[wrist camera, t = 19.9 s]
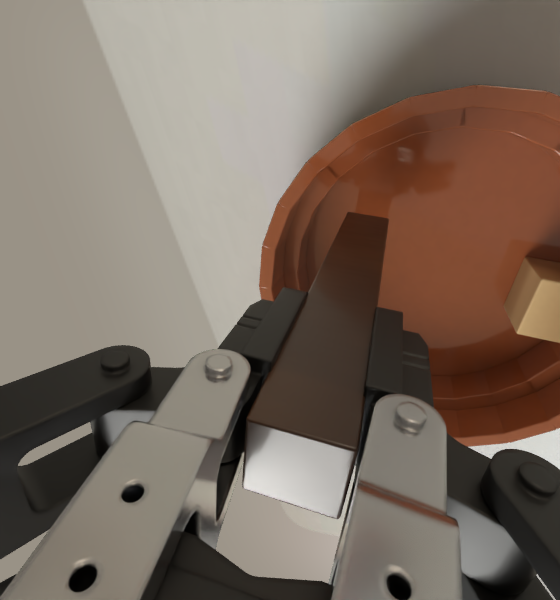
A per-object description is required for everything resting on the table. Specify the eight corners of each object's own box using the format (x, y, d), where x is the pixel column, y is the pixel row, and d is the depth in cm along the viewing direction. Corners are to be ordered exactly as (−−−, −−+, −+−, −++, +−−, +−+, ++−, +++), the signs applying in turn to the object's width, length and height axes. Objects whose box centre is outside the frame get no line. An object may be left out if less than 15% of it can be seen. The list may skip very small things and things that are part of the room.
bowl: (274, 352, 28) (251, 397, 24) (303, 74, 20) (274, 66, 15) (538, 417, 24) (566, 485, 20) (710, 111, 16) (822, 115, 12)
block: (502, 306, 21) (515, 334, 19) (524, 255, 20) (542, 278, 17) (562, 318, 21) (584, 349, 18) (589, 267, 19) (617, 292, 17)
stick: (340, 249, 20) (241, 489, 8) (347, 211, 19) (244, 418, 7) (380, 257, 19) (339, 521, 7) (389, 218, 18) (359, 450, 6)
